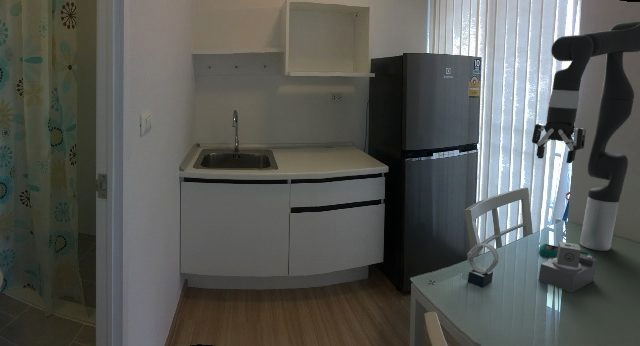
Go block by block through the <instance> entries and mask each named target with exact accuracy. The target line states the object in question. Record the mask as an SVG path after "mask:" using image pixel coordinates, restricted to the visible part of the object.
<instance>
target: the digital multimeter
mask: <svg viewBox="0 0 640 346" xmlns="http://www.w3.org/2000/svg"><path fill="white" fill-rule="evenodd" d="M558 246H559V245H558ZM558 246H556V245H554V244H553V245H552V244H549V243H548V244H547V243H544V244H541V246H540V247H539V250H538V251H539V252H538V253H539V255H540V256H541V257H546V258H550V259H554V258H556V257H557V252H558ZM581 254H582V255H585V256H592V253H590V252H588V251H582V250H581ZM592 257H593V256H592Z"/></svg>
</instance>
